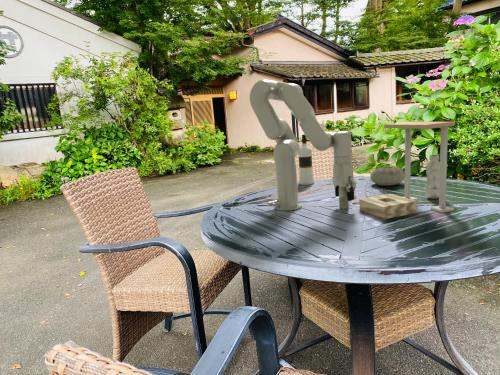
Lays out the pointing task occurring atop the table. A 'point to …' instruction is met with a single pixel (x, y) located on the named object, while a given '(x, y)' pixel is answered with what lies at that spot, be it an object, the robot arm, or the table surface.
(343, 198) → the peg
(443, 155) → the two-post wooden stand
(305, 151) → the vodka
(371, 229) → the table surface
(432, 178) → the plastic bottle
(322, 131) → the robot arm
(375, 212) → the socket block
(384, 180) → the grey rounded lump
